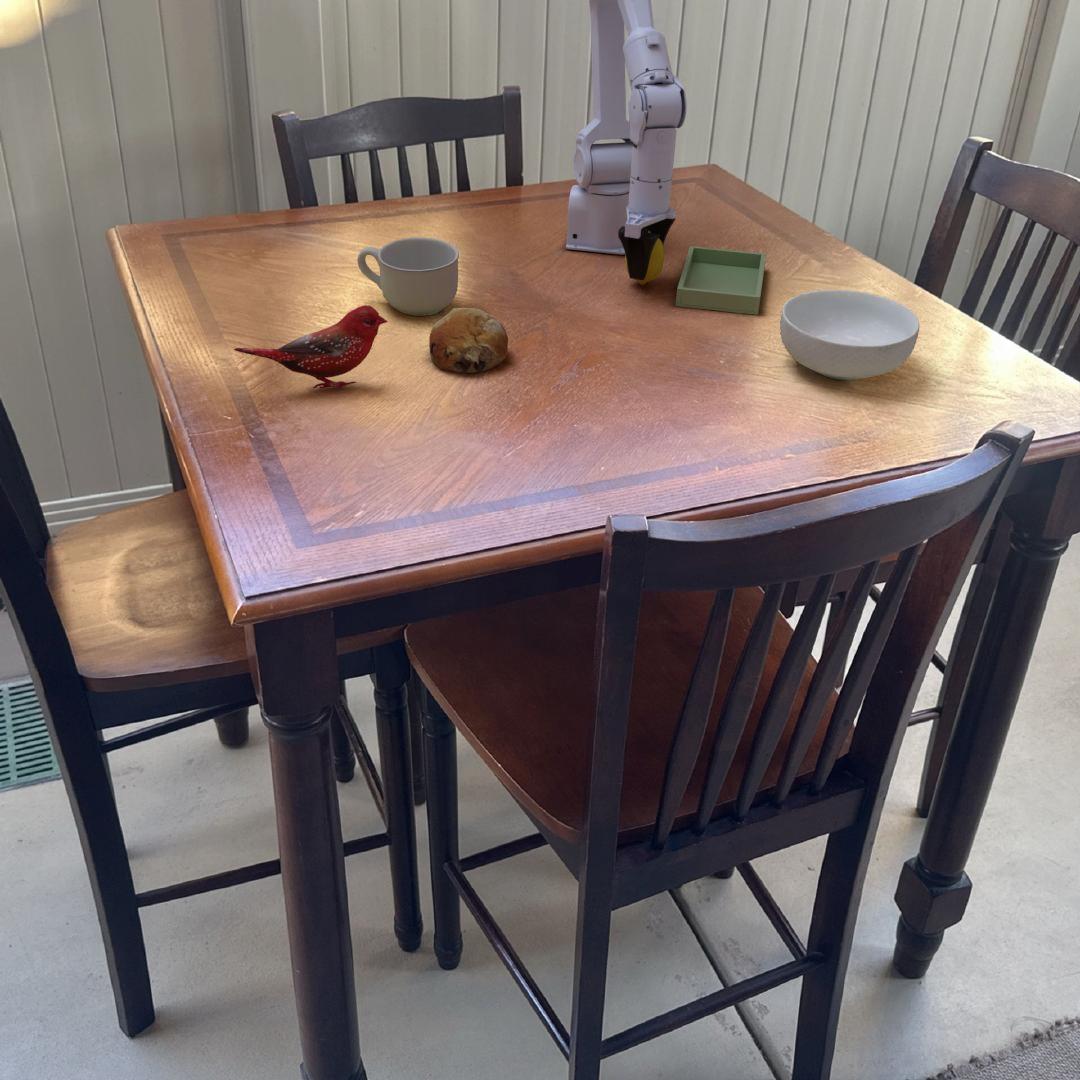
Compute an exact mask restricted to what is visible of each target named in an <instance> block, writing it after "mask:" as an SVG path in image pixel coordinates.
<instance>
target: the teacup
mask: <svg viewBox="0 0 1080 1080" xmlns="http://www.w3.org/2000/svg"><path fill="white" fill-rule="evenodd" d="M367 256H371V257H373V258H374V259H375V260H376V263H377V265H378V267H379V274H377V273H376V272H374V271H373V270H372V269H371V268H370V267H369V266H368V264H367V262H366V258H367ZM459 258H460V252H459V250H458V249H457V247H456V246H454V245H453V244H451V243H450V242H448V241H445V240H442V239H438V238H434V237H424V236H423V237H421V236H417V237H416V236H415V237H413V236H412V237H406V238H400V239H396V240H393V241H390V242H388V243H386V244H385V245H383V246H381V248H380V249H378V248H377V247H374V246H366V247H363V249H362V250H360V251H359V253H358V255H357V260H356V261H357V266H358V268H359V270H360V272H361V273H362V274H363V275H364V276H365V277H366V278H367V279H368V280H370V281H371V282H373V283H374V284H376V286H378V288H379V289H380V290H381V293H382V296H383V298H384V299H385V301H386V302H387V303H388V304H389V305H390V306H391V307H393V308H395V309H396V310H397V311H398V312H400V313H401V314H404V315H408V316H415V317H425V316H427V317H428V316H431V315H434V314H437V313H440V312H441V311H443V310H444V309H445V308H446V307H447V306H449V305H450V304H451V303H452V302H453V301H454V300H455V298H456V295H457V293H458V287H459Z"/></svg>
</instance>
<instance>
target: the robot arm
mask: <svg viewBox="0 0 1080 1080" xmlns="http://www.w3.org/2000/svg"><path fill="white" fill-rule="evenodd" d="M588 5H589V15H590V16H589V17H590V43H591V44H590V45H591V46H590V47H591V48H590V49H591V79H592V84H591V85H592V109H593V110H592V111H593V113H592V114H593V119H592V121H590V122H589V123H588V124H587V125H586V126H585V127H584V128H582V129H581V130H580V131H579V132H578V134H577V135H576V137H575V147H574V155H573V172H574V177H575V181H576V182H577V184H574V185H572V186H571V189H570V191H569V193H570V194H569V198H568V208H567V225H566V226H567V230H566V244H565V249H566V250H574V251H581V252H582V251H583V252H593V253H601V254H602V253H603V254H611V255H621V256H625V255H626V260H627V266H628V271H627V273H628V272H629V273H628V276H629V279H632V280H635V279H637V280H644V279H645V276H646V274H647V270H648V266H649V261H650V257H651V253H652V250H653V248H654V245H655V243H656V241H657V240H658V238H659V239H660V240H661V242H662V244H663V246H664V245H665V241H666V240H667V239H666V238H667V236H668V234H669V232H670V231H671V227H672V226H673V225H674V223H675V221H676V218H677V217H678V210H676V209H674V208H673V209H672V208H671V194H672V186H673V185H672V184H673V174H674V164H675V163H674V162H675V153H676V143H677V132H678V130H677V129H681V128H682V127H683V125H684V123H685V120H686V117H687V105H688V104H687V95H686V89H685V87H684V85H683V83H682V82H681V81H680V80H679V77H678V75H674V73H673V70H672V65H671V61H670V55H669V52H668V51H669V50H668V47H667V42H666V38H665V36H664V34H663V33H662V32H660V31H659V30H658V29H655V25H654V14H653V7H652V0H588ZM625 30H626V33H627V38H625ZM626 72H627V76H628V81H629V86H630V90H631V93H630V95H629V100H628V104H627V97H626V96H627V95H626V94H627V93H626V91H627V90H626ZM627 106H628V109H627ZM627 111H628V119H629V120H627ZM602 140H603V141H604V140H622V141H623V142H607V143H606V142H604V143H595V142H597V141H602ZM649 231H650V233H648V232H649ZM637 280H636V281H637Z"/></svg>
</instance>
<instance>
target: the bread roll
mask: <svg viewBox="0 0 1080 1080" xmlns="http://www.w3.org/2000/svg"><path fill="white" fill-rule="evenodd" d="M428 341H429V344H428V345H429V355H430V359H431V361H432V362H433V363H434V364H435V365H436V366H437V367H438V368H439V369H442V370H444V371H448V372H454V373H458V374H462V373H466V374H474V373H475V374H476V373H480V372H485V371H488V370H491V369H493V368H495V367H498V366H499V365H500V364H502V363H503V361H504V360H505V359H506V358H507V355H508V345H509V337H508V332H507V330H506V328H505V326H504V325H503V323H501V321H499V320H498V319H497V318H496V317H495V316H494V315H492V314H490V313H488V312H487V311H484V310H482V309H479V308H476V307H453V308H452V309H451V310H450V311H449V312H448V313H447V314H445V315H444V316H443V317H442V318H441V319H440V320H439V321H437V322H435V324H433V325H432V328H431V330H430V333H429V340H428Z"/></svg>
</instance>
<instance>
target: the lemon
mask: <svg viewBox="0 0 1080 1080" xmlns="http://www.w3.org/2000/svg"><path fill="white" fill-rule="evenodd" d="M648 233H650V231H649V232H648ZM624 258H625V259H624V261H625V262H624V263H625V268H626V271H627V273H628V274H629V272H628V266H627V260H626V255H624ZM664 264H665V250H664V245H663V244H662V242H661V240H660V239H659V238H658V240H657V241H656V243H655V245H654V248H653V250H652V253H651V257H650V261H649V266H648V270H647V274H646V276H645V279H644V280H637V279H634V281H637V282H638V283H639V284H640V285H641V286H645V285H646V284H647V283H648V282H651V281H653V280H655V279H657V277H658V276H659V275H660V274H661V272H662V270H663V267H664Z"/></svg>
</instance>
